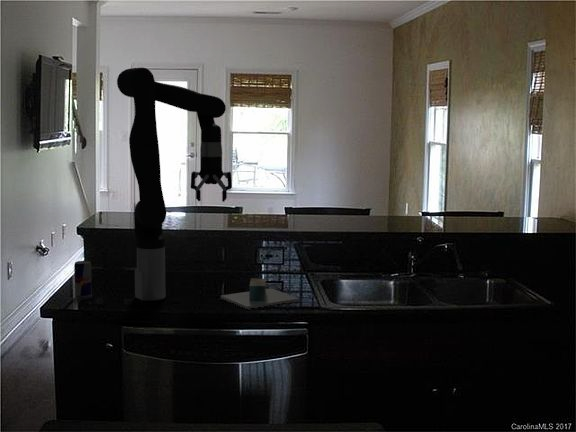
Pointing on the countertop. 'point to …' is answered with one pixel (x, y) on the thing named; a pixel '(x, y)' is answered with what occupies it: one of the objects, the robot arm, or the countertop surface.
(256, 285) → the brown tall block
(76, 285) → the energy drink
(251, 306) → the cream board
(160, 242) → the robot arm
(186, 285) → the countertop surface
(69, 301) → the countertop surface
